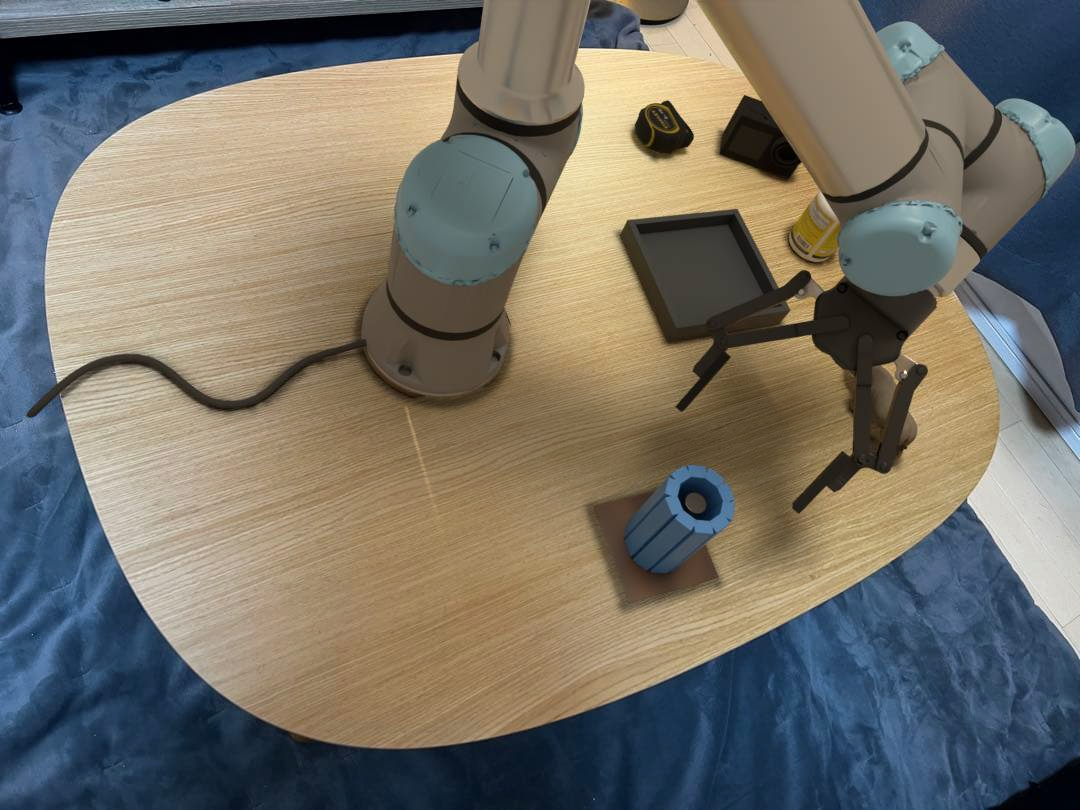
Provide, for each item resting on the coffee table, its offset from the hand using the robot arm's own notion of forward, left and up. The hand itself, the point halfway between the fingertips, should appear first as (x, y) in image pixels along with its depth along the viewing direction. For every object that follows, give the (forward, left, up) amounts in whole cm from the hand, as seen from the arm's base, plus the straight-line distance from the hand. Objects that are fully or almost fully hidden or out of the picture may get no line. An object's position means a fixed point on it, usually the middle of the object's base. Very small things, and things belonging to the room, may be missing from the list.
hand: (736, 458), depth 77 cm
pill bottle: (+32, +30, -12) cm, 45 cm away
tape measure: (+18, +50, -12) cm, 54 cm away
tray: (+14, +27, -12) cm, 32 cm away
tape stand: (-5, -3, -12) cm, 13 cm away
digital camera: (+31, +45, -12) cm, 56 cm away
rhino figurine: (+27, +6, -12) cm, 30 cm away
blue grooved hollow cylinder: (-5, -3, -11) cm, 12 cm away
